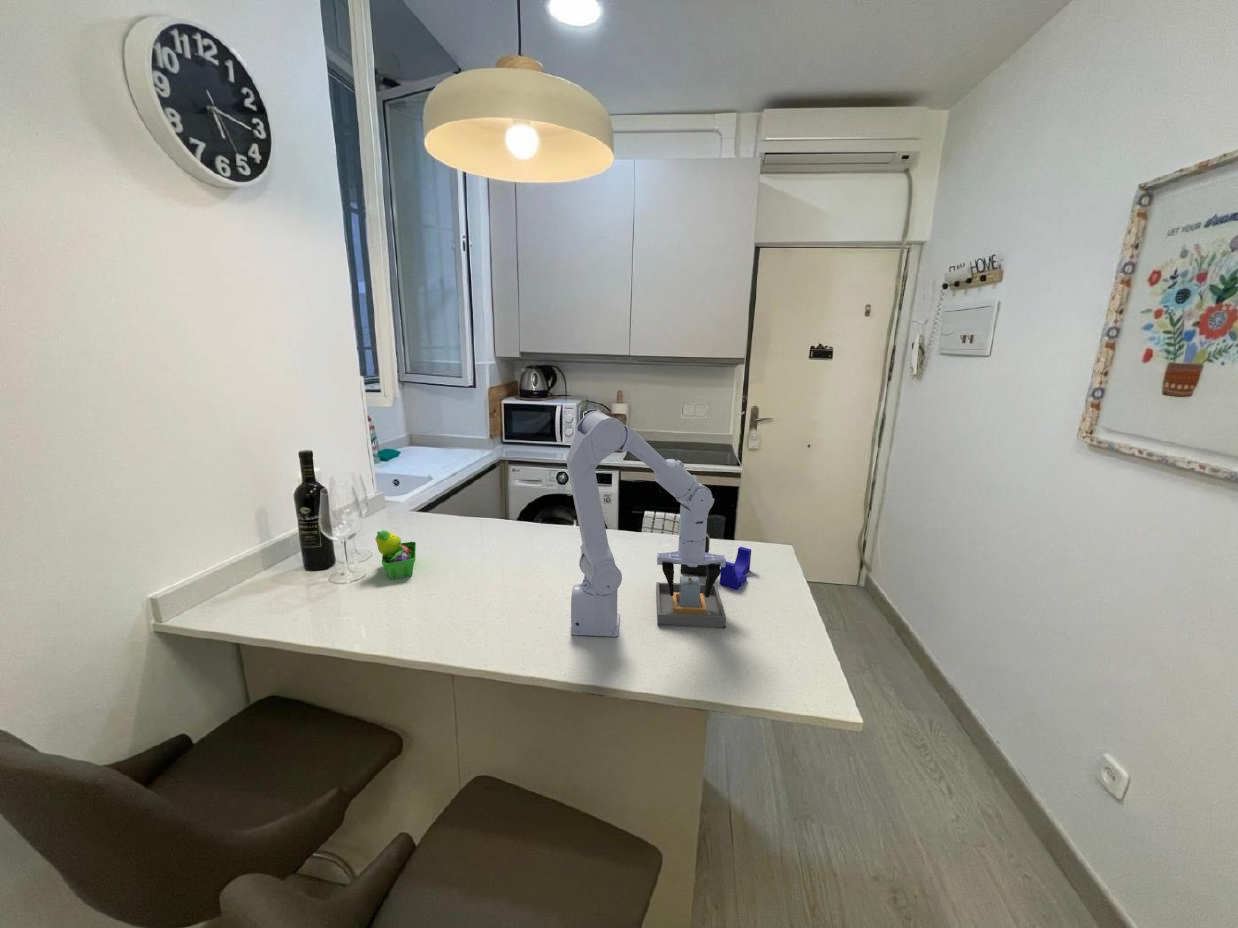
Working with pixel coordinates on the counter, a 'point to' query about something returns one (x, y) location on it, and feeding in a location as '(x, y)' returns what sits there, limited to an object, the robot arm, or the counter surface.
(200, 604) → the counter surface
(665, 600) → the box
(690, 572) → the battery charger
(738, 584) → the cable clip
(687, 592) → the connector plug
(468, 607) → the counter surface
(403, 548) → the fruit basket
